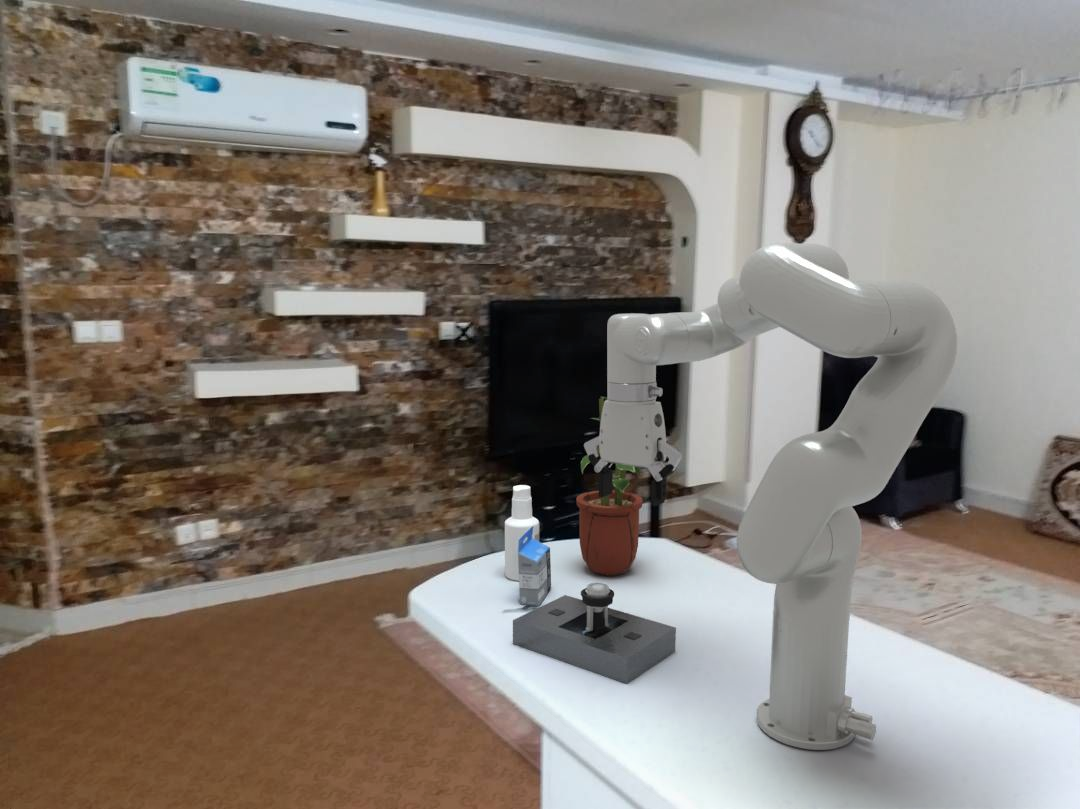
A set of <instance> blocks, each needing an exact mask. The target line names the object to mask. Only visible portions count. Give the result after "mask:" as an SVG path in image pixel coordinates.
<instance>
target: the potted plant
mask: <svg viewBox="0 0 1080 809" xmlns="http://www.w3.org/2000/svg"><path fill="white" fill-rule="evenodd" d="M607 399H608V398H607V397H606V396H601V397H600V398H599V399H598V407H599V408H598V409H599V417H597V418H596V417H591V418H590V419H593V420H595V421H598V422H599V425H600V424H601V416H602V410H603V405H604V402H605V401H606V400H607ZM596 450H597V453H598V454H599V455H600V452H599V445H598V446H597V447H596ZM588 457H589V456H588V455H584V456H583V457H582V460H581V461H580V470H581V474H582V475H583V474H584V470H585V468H587V467H586V466H587V465H588V464H590V463H591V462H590V461H589V459H588ZM639 468H640V467H636V466H629V465H621V464H615V469H614V470H615V471H614V472H615V473H614V476H613V486H614V490H613V492H612V494H610V495H608V496H605V497H599V490H592V491H586V492H583V493H581V494H579V495H577V496H576V498H575V499H576V506H577V508H579V546H580V552H581V557H582V560H583V561H584V562H585V565H586V566H587V568H588V569H590V570H591V571H592V572H593V573H596V574H597V575H601V576H607V577H609V576H611V577H612V576H618V575H621V574H623V573H625V572H627V570H629V569H630V568H631V566H632V565H633V563H634V562H635V560H636V558H637V557H636V556H637V552H638V548H639V533H640V530H639V528H640V509H642V507H643V498H642V496H640V495H638V494H637V493H636V494H635V493H632V492H627V491H625V490H626V488H627V487H628V486H629V485H630V479H628V478H625V477H626V472H627V471H630V472H632V473H636V474H637V475H638V477H639V478H640V480H642V477H641V473H640V469H639Z"/></svg>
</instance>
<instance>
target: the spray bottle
mask: <svg viewBox="0 0 1080 809" xmlns="http://www.w3.org/2000/svg"><path fill="white" fill-rule="evenodd" d="M531 494H532V492H531V486H529V485H527V484H519V485H513V487H512V498H511V516H510V517H508V518H507V519H506V520H505V521H504V576H505V577H506V578H507V579H509V580H511V581H515V582H517V581H518V582H519V568H518V541H519V539H520V538H521V537H522V536H523V535H524V534H525V533H526V532H527V531H528V530H529V529H530V528H531V527H532V526H534V527H533V533H532V538H533V539H535V540H537V541H539V542H540V521H539V519H538V518H536V517H534V516H533V506H532V505H533V504H532V502H533V500H532V498H533V497H532V495H531ZM526 540H527V538H526V537H525V540H524V541H523V543H524V542H525V541H526Z"/></svg>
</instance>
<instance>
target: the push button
mask: <svg viewBox="0 0 1080 809" xmlns="http://www.w3.org/2000/svg"><path fill="white" fill-rule="evenodd" d="M580 596H581V600H582V602H583V603H585V604H586V605H587V627H586V631H583V632H582V635H584V636H587V637H591V638H594V639H598V638H600V637H602V636H603V635H605V634H607V633H609V632H610V631H612V630H611V629H610V628H608V626H609V624H608V608H609V606H610V605H612V604H613V602H614V597H615V591H614V590H612V589H611V588H610V587H609V585H608V584H606V583H603V582H592V583H591V582H590V583H588V584H587V585H586V587H585V588H583V589H581V591H580Z"/></svg>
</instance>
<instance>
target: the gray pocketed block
mask: <svg viewBox="0 0 1080 809" xmlns="http://www.w3.org/2000/svg"><path fill="white" fill-rule="evenodd" d="M608 624H609V626H608V628H610V629H611V630H612V631H610V632H609V633H607V634H605V635H603V636H602V637H600V638H598V639H594V638H591V637H587V636H584V635H582V632H583V631H586V627H587V605H586V604H585V603H583V602H582V599H580V598H578V597H573V596H570V595H566V594H564V595H563V596H560V597H558V598H555V599H553V600H552V601H550V602H548V603H546V604H544V605H542V606H540V607H537V608H536V609H533V610H531V611H530V612H527V613H525V614H523V615H521V616H519V617H516V618H514V619H512V645H516V646H519V647H522V648H524V649H527V650H529V651H533V652H535V653H537V654H538V653H539V654H541V655H544V656H546V657H550V658H553V659H554V660H558V661H561V662H563V663H566V664H568V665H572V666H575V667H578V668H580V669H583V670H586V671H589V672H592V673H595V674H598V675H600V676H603V677H607V678H608V679H612V680H615V681H618V682H619V683H624V684H626V685H627V684H629V683H631V682H632V681H634V680H635V679H636V678H638V677H640V676H641V675H642V674H644V673H646V671H649V670H650V669H651V668H652V667H653V668H654V666H656V665H657V664H659V663H660V662H662V661H663V660H665V659H666V658H668V657H670V655H672V654H674V653H675V652H676V642H677V639H676V638H677V637H676V636H677V635H676V633H677V632H676V631H677V627H675V626H672V625H668V624H664V623H661V622H658V621H655V620H651V619H649V618H644V617H641V616H638V615H634V614H631V613H628V612H624V611H621V610H618V609H615V608H610V607H608Z"/></svg>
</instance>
